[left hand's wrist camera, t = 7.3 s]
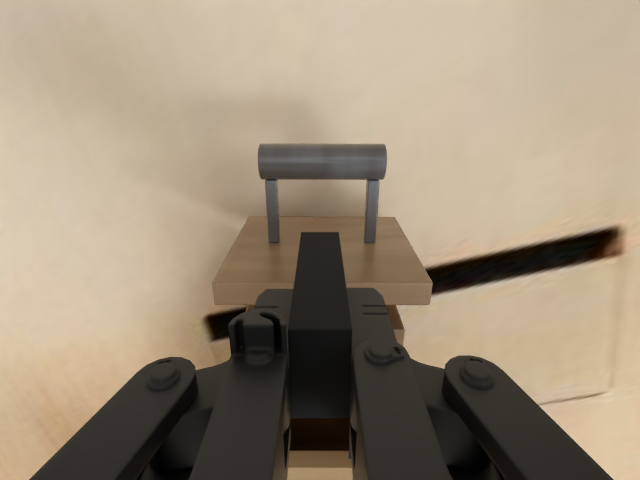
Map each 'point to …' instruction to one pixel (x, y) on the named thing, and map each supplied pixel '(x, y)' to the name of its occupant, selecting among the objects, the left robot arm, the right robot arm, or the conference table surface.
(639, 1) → the conference table surface
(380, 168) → the drawer
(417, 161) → the conference table surface
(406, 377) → the left robot arm
